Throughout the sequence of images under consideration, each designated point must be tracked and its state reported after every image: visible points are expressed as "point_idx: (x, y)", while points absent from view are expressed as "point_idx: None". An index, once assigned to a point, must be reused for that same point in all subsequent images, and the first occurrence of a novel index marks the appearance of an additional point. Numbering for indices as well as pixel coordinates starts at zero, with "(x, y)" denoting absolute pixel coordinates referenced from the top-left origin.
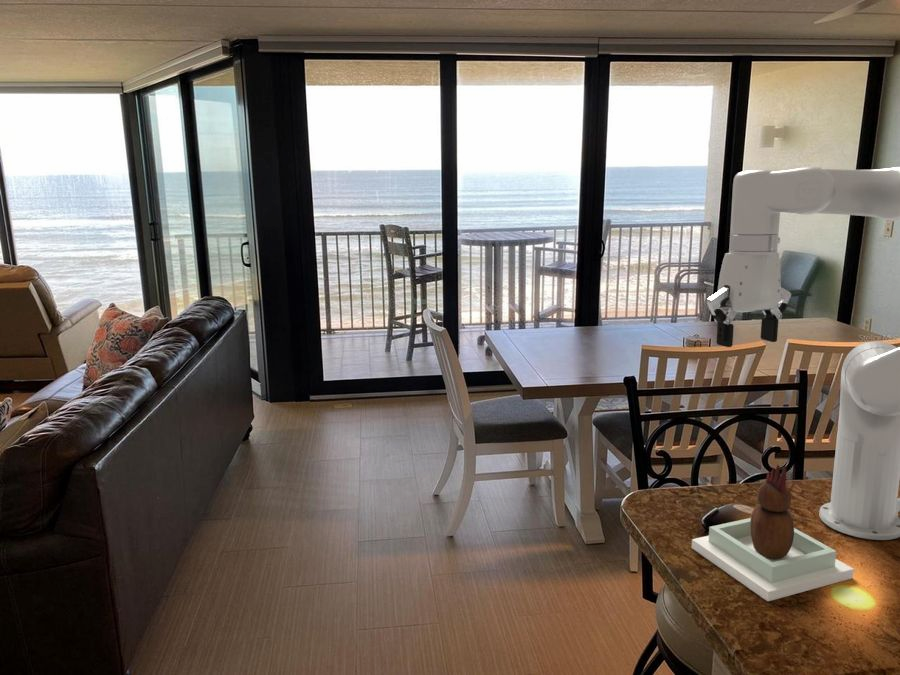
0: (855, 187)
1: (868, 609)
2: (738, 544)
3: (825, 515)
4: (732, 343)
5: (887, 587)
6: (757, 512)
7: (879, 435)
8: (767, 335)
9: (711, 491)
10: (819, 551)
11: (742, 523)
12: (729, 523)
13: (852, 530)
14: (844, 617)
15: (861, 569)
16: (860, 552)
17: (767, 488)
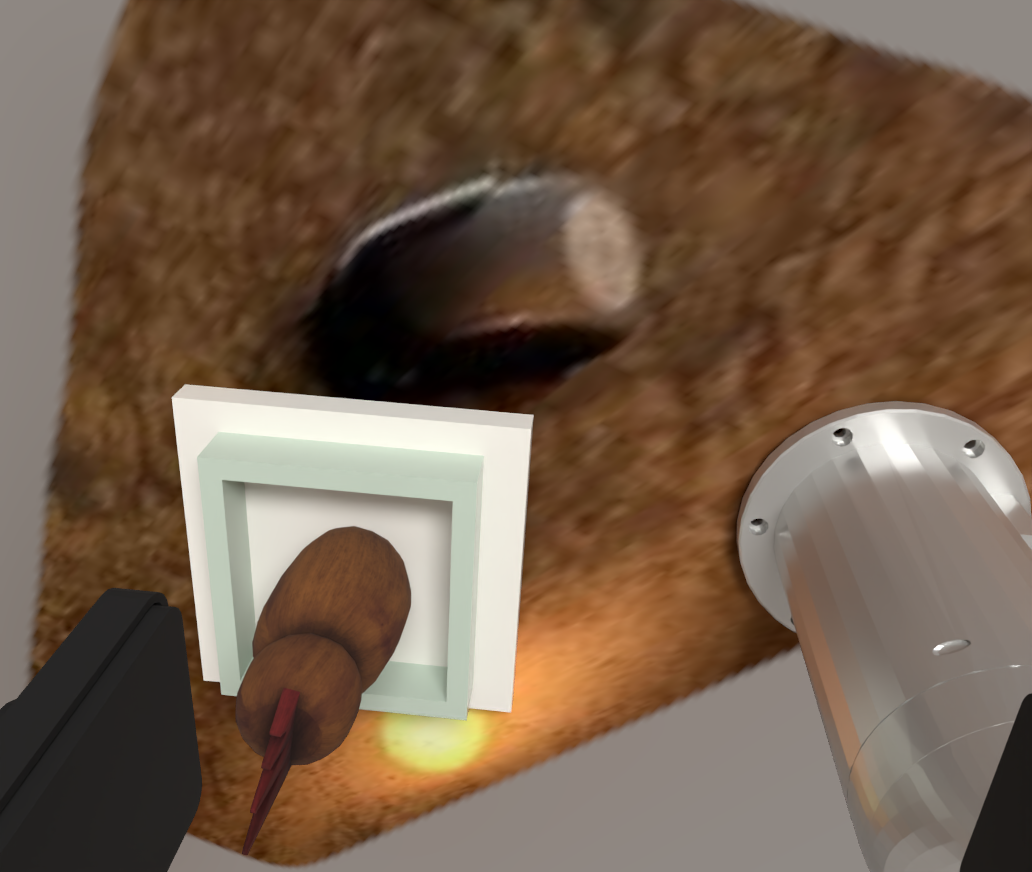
0: None
1: (422, 772)
2: (214, 577)
3: (777, 475)
4: (186, 830)
5: (555, 747)
6: (264, 634)
7: None
8: (1020, 858)
9: (604, 28)
10: (418, 701)
11: (329, 489)
12: (284, 469)
13: (747, 580)
14: (341, 765)
15: (578, 678)
16: (670, 628)
17: (244, 728)
